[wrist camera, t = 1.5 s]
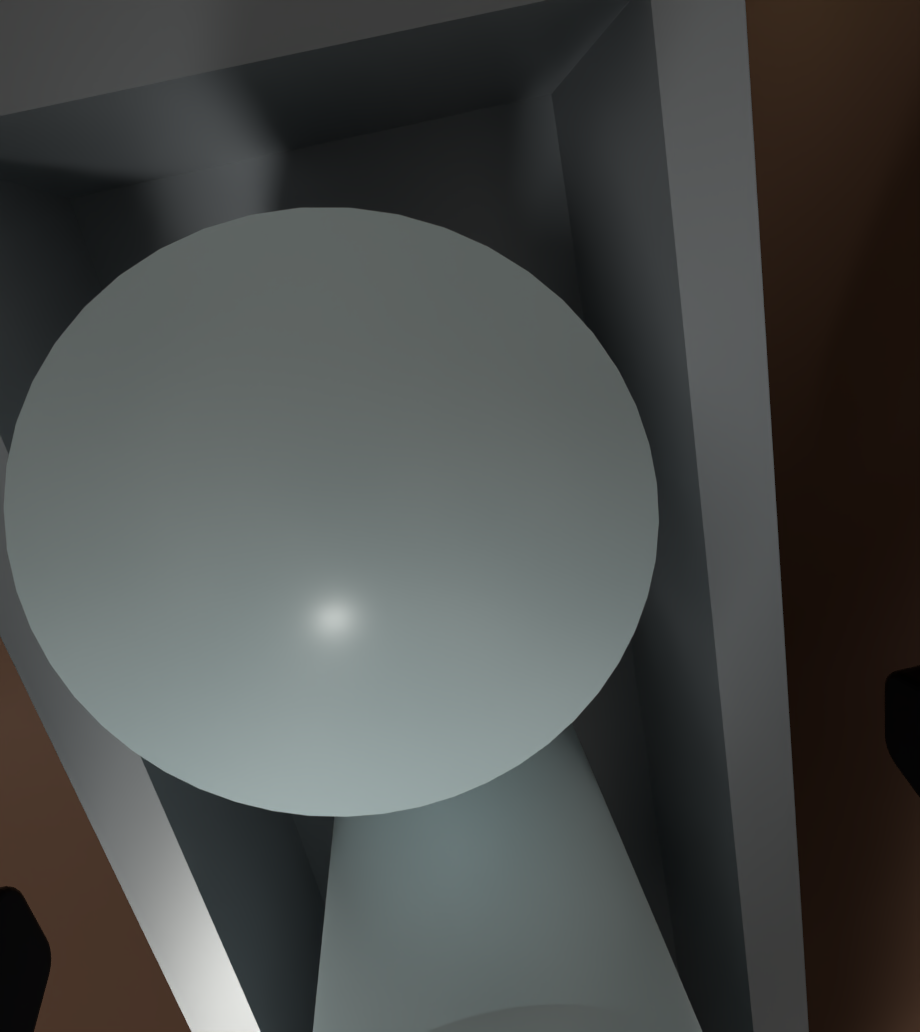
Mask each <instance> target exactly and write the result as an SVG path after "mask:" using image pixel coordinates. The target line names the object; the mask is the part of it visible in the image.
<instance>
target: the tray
mask: <svg viewBox="0 0 920 1032" xmlns="http://www.w3.org/2000/svg"><path fill="white" fill-rule="evenodd" d="M0 636H1V638H2V640H3V643H4V645H5V647H6V649H7V651H8V653H9V655H10V657H11V659H12V661H13V663H14V665H15V667H16V669H17V672H18V674H19V676H20V678H21V680H22V682H23V684H24V686H25V688H26V690H27V692H28V694H29V696H30V698H31V700H32V703H33V705H34V707H35V709H36V711H37V713H38V715H39V717H40V719H41V721H42V723H43V725H44V727H45V729H46V732H47V734H48V736H49V738H50V740H51V742H52V744H53V746H54V748H55V750H56V752H57V754H58V756H59V758H60V760H61V763H62V765H63V767H64V769H65V771H66V773H67V775H68V777H69V779H70V781H71V783H72V785H73V787H74V789H75V791H76V794H77V796H78V798H79V800H80V802H81V804H82V806H83V808H84V810H85V812H86V814H87V816H88V818H89V820H90V823H91V825H92V827H93V829H94V831H95V833H96V835H97V837H98V839H99V841H100V843H101V845H102V847H103V849H104V851H105V854H106V856H107V858H108V860H109V862H110V864H111V866H112V868H113V870H114V872H115V874H116V876H117V878H118V880H119V883H120V885H121V887H122V889H123V891H124V893H125V895H126V897H127V899H128V901H129V903H130V905H131V907H132V909H133V911H134V914H135V916H136V918H137V920H138V922H139V924H140V926H141V928H142V930H143V932H144V934H145V936H146V938H147V940H148V942H149V945H150V947H151V949H152V951H153V953H154V955H155V957H156V959H157V961H158V963H159V965H160V967H161V969H162V971H163V974H164V976H165V978H166V980H167V982H168V984H169V986H170V988H171V990H172V992H173V994H174V996H175V998H176V1000H177V1002H178V1005H179V1007H180V1009H181V1011H182V1013H183V1015H184V1017H185V1019H186V1021H187V1023H188V1025H189V1027H190V1029H191V1031H192V1032H809V1027H808V1011H807V995H806V979H805V962H804V946H803V930H802V914H801V898H800V881H799V865H798V849H797V833H796V817H795V801H794V784H793V768H792V752H791V736H790V720H789V704H788V687H787V671H786V655H785V639H784V623H783V606H782V590H781V574H780V558H779V542H778V526H777V509H776V493H775V477H774V461H773V445H772V428H771V412H770V396H769V380H768V364H767V348H766V331H765V315H764V299H763V283H762V267H761V251H760V234H759V218H758V202H757V186H756V170H755V153H754V137H753V121H752V105H751V89H750V73H749V56H748V40H747V24H746V8H745V0H0Z"/></svg>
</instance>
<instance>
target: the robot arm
mask: <svg viewBox="0 0 920 1032" xmlns="http://www.w3.org/2000/svg"><path fill="white" fill-rule="evenodd" d="M885 739H886V744H887V748H888V751H889V753H890V755H891V757H892V759H893V761H894V763H895V764H896V766H897V767H898V768H899V770H900V771H901V773H902V774H903V775H904V777H905V778H906V779H907V781H908V782H909V783H910V785H911V786H912V787H913V789H914V790H915V792H916V793H917V794H918V796H919V797H920V665H919V666H915V667H911V668H907V669H902V670H898V671H895V672H893V673H891V674H890V675H889V676H888V677H887V679H886V682H885ZM50 966H51V951H50V946H49V943H48V941H47V939H46V937H45V935H44V933H43V931H42V929H41V928H40V926H39V924H38V922H37V920H36V918H35V917H34V915H33V913H32V911H31V909H30V907H29V906H28V904H27V902H26V900H25V898H24V896H23V895H22V893H21V892H20V891H19V890H17V889H16V888H14V887H8V886H4V887H0V1032H34V1029H35V1025H36V1022H37V1018H38V1014H39V1010H40V1007H41V1003H42V999H43V995H44V992H45V988H46V984H47V980H48V977H49V972H50Z"/></svg>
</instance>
